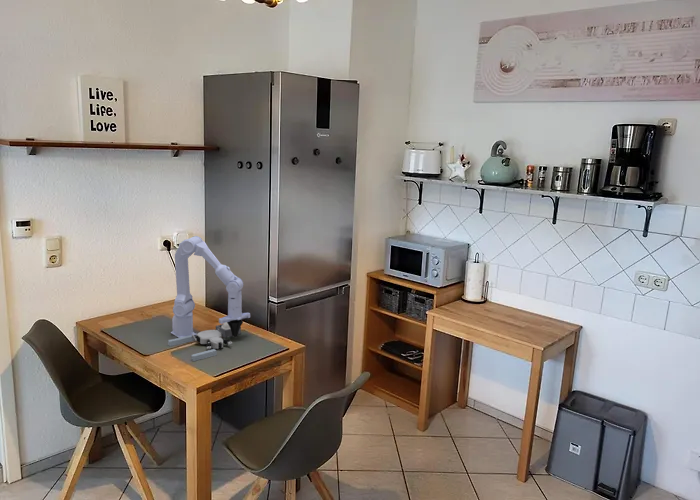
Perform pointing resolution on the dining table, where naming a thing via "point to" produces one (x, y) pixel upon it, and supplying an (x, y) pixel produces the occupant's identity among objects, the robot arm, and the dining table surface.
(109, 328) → the dining table surface
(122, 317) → the dining table surface
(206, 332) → the robot toy
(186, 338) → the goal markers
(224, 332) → the dome collar
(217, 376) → the dining table surface
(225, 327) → the dome button
